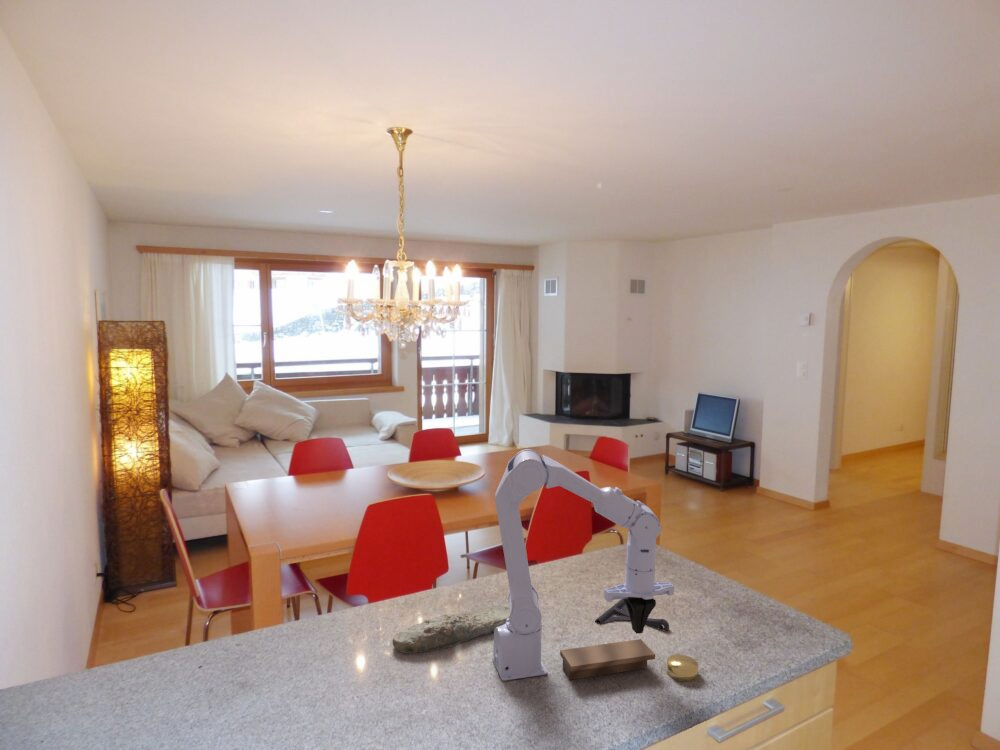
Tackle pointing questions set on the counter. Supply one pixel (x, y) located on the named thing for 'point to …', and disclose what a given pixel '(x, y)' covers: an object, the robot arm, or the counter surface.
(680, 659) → the brass puck
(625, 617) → the bracket
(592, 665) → the walnut shelf
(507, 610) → the elongated rock
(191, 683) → the counter surface
